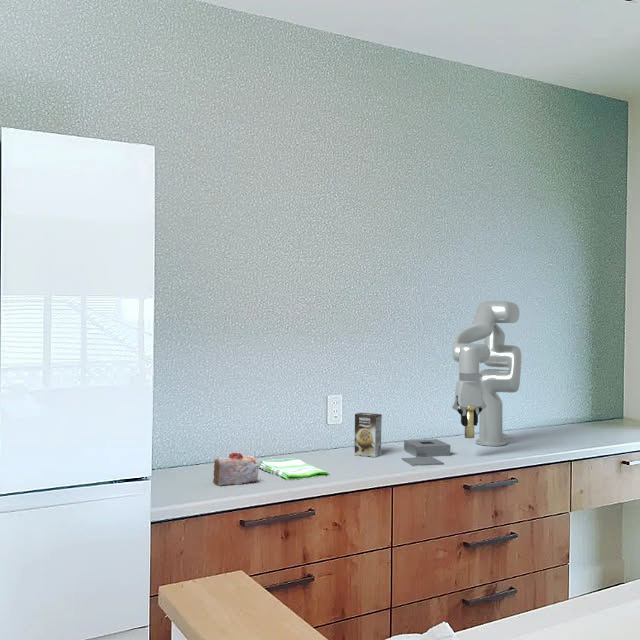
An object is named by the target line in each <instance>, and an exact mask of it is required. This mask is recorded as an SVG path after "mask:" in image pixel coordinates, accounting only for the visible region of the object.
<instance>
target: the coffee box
mask: <svg viewBox="0 0 640 640" xmlns="http://www.w3.org/2000/svg"><path fill="white" fill-rule="evenodd" d="M382 418H383V417H382V413H368V412H358V413H355V414H354V456H358V455H361V457H367V456H371V458H377V457H379V456H378V455H380V456H381V455H382ZM376 456H377V457H376Z"/></svg>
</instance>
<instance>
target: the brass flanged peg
mask: <svg viewBox="0 0 640 640" xmlns="http://www.w3.org/2000/svg"><path fill="white" fill-rule="evenodd" d="M475 409H476V407H475V406H468V407H467V408H466V416H467V426H464V438H465V439H474V438H475V425H474V410H475Z"/></svg>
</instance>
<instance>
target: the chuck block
mask: <svg viewBox="0 0 640 640" xmlns="http://www.w3.org/2000/svg"><path fill="white" fill-rule="evenodd" d="M404 450H405V451H404ZM403 451H404V452H406V451H407V452H406V453H408V452H409V453H408V454H410V453H411V454H410V455H412V454H413V455H412V456H413V457H415V456H416V457H422V456H429V457H445V456H446V457H447V456H448V455H450V456H451V444H448V443H447V442H444V441H442V440H440V439H437V438H433V439H408V440H406V439H405V440H403Z"/></svg>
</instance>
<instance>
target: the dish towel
mask: <svg viewBox="0 0 640 640" xmlns="http://www.w3.org/2000/svg"><path fill="white" fill-rule="evenodd" d="M258 464H259V465H258V469H260V468H261V470H262V469H263V470H262V471H264V472H266V471H267V472H266V473H268V472H269V474H270V473H272V474H271V475H273V474H274V475H273V476H275V475H276V476H275V477H277V478H279V477H281V478H282V479H281V478H280V479H281V480H283V479H284V480H283V481H285V480H286V482H287V480H289V481H296V480H295V479H298V480H304V479H303V478H306V479H312V477H314V478H320V477H319V476H322V477H327V475H329V476H330V472H329V471H325V470H323V469H320V468H319V467H315V466H313V465H311V464H308V463H307V462H305V461H303V460H301V459H300V458H298V457H291V458H280V459H279V458H278V459H267V460H266V459H260V462H259V463H258Z"/></svg>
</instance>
